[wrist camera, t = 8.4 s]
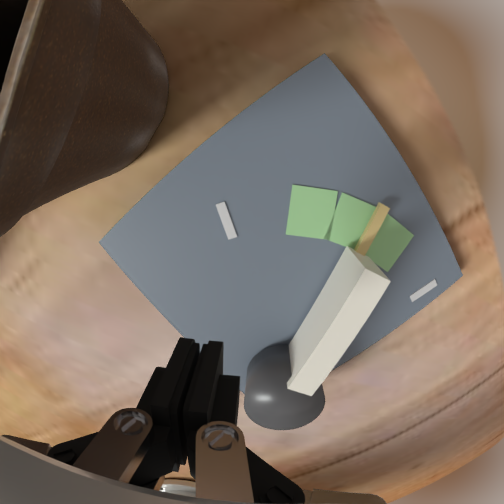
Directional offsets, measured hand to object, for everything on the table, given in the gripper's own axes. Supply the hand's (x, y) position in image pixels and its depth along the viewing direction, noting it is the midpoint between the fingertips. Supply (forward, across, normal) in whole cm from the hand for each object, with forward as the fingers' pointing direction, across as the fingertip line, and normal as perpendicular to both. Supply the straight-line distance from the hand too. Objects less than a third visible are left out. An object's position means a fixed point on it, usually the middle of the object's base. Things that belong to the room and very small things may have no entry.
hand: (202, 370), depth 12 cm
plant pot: (+11, +11, -12) cm, 20 cm away
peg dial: (+10, -7, +2) cm, 12 cm away
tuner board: (+11, -4, -2) cm, 12 cm away
